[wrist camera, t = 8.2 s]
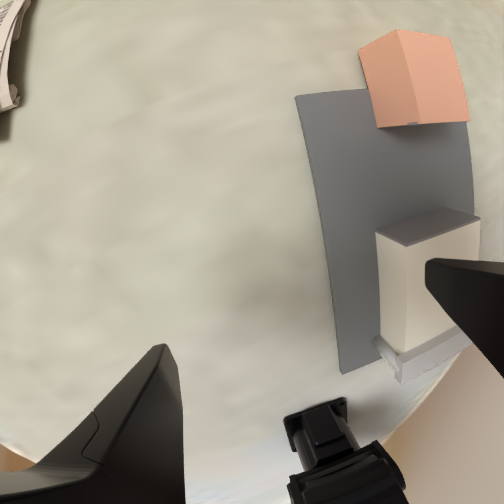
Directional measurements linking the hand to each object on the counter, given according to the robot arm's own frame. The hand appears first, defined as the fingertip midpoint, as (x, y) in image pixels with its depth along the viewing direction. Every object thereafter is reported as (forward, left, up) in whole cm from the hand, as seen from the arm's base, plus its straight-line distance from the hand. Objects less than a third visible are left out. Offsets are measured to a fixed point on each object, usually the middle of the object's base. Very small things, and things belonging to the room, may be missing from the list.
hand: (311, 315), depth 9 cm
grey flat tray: (-4, -13, -12) cm, 18 cm away
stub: (+8, -13, -11) cm, 19 cm away
